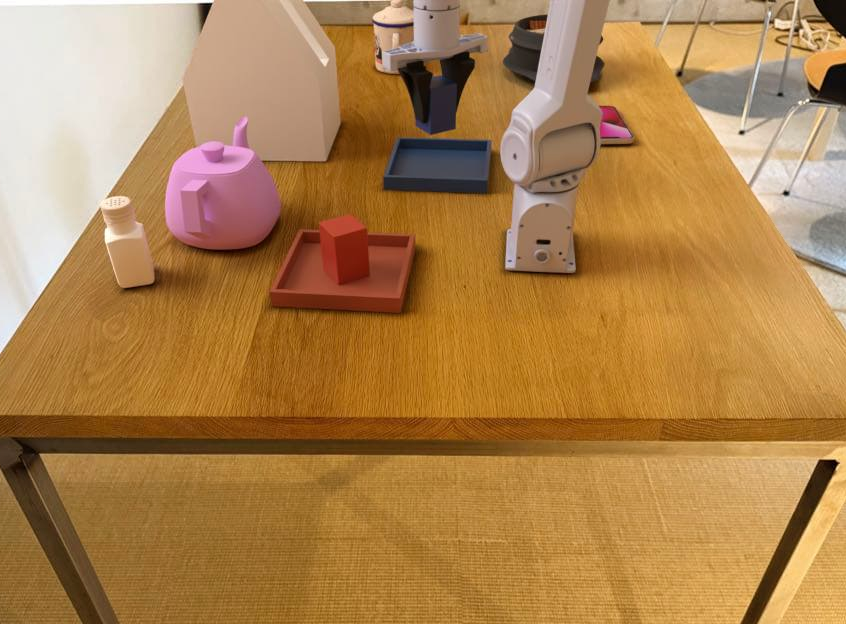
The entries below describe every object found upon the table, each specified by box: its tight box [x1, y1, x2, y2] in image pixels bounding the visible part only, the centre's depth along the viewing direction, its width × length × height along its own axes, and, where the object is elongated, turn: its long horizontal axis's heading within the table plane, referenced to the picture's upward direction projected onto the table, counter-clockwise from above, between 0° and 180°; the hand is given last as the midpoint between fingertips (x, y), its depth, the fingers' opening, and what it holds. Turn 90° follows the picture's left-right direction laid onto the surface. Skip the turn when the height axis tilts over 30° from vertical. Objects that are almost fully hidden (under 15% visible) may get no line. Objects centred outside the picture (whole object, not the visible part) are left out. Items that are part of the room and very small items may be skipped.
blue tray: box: [382, 136, 493, 194], centre depth 108 cm, size 14×14×2 cm
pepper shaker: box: [99, 195, 156, 289], centre depth 84 cm, size 4×4×10 cm
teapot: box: [164, 117, 282, 251], centre depth 93 cm, size 13×20×11 cm
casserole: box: [502, 14, 605, 83], centre depth 138 cm, size 25×19×8 cm
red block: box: [318, 213, 370, 285], centre depth 85 cm, size 4×4×6 cm
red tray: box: [268, 228, 417, 314], centre depth 86 cm, size 14×14×2 cm
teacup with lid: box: [371, 0, 414, 75], centre depth 140 cm, size 12×9×12 cm
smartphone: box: [598, 105, 635, 145], centre depth 120 cm, size 7×1×15 cm
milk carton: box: [181, 0, 342, 162], centre depth 110 cm, size 19×15×25 cm
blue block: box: [414, 74, 457, 136], centre depth 100 cm, size 4×4×6 cm
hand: (435, 117), depth 101 cm, fingers closed on blue block, 4 cm apart
